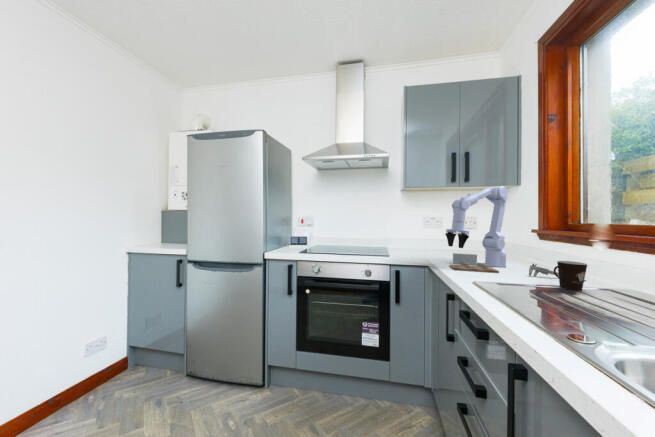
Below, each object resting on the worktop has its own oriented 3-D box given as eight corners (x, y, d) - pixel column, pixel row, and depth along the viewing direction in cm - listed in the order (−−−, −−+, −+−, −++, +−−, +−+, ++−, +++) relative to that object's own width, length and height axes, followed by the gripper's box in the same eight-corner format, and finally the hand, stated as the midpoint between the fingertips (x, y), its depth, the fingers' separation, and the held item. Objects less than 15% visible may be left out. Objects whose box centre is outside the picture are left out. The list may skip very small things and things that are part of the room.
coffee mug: (577, 286, 107) (578, 261, 107) (592, 292, 98) (593, 265, 98) (542, 283, 110) (543, 259, 110) (554, 289, 102) (555, 263, 101)
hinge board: (490, 268, 140) (491, 262, 140) (498, 272, 130) (499, 266, 130) (449, 266, 144) (449, 260, 144) (454, 270, 134) (454, 263, 134)
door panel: (475, 265, 151) (475, 254, 151) (476, 265, 149) (477, 254, 149) (452, 263, 154) (453, 253, 154) (453, 264, 152) (453, 253, 152)
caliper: (529, 276, 125) (529, 263, 125) (528, 276, 126) (529, 262, 126) (586, 282, 117) (586, 267, 117) (585, 281, 118) (585, 267, 118)
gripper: (442, 220, 148) (439, 244, 148) (462, 221, 134) (459, 248, 134) (453, 222, 150) (450, 246, 150) (473, 222, 136) (470, 249, 136)
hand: (455, 247), depth 142 cm, fingers open, 7 cm apart
